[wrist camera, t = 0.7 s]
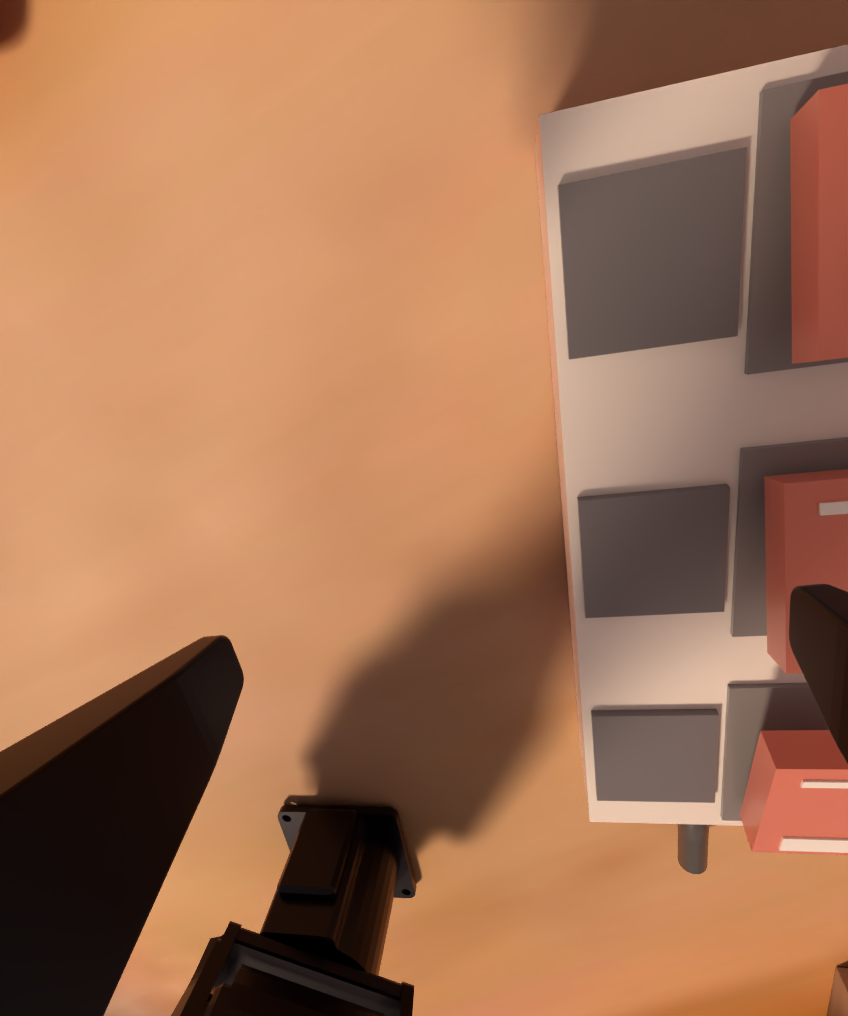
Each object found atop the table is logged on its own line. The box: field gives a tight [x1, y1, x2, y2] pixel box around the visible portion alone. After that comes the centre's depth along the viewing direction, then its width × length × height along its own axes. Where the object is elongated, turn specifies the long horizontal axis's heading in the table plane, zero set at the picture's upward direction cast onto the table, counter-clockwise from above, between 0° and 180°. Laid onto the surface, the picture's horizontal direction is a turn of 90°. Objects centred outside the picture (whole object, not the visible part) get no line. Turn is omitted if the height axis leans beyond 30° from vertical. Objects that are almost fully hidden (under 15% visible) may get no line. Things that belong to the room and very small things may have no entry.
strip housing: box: [535, 44, 848, 874], centre depth 19 cm, size 29×9×4 cm, turn 9°
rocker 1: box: [740, 730, 848, 855], centre depth 17 cm, size 5×4×1 cm
